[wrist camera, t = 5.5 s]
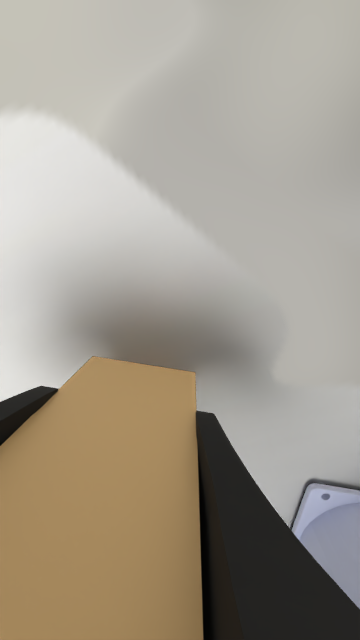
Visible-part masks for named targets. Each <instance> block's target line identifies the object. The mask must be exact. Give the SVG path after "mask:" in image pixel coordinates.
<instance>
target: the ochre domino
mask: <svg viewBox="0 0 360 640" xmlns="http://www.w3.org/2000/svg"><path fill="white" fill-rule="evenodd" d="M0 640H203V612H202V579H201V546H200V513H199V480H198V447H197V437H196V381H195V372H190V371H183V370H177V369H171V368H165V367H158V366H152V365H146V364H139V363H133V362H127V361H120V360H114V359H108V358H101V357H95V356H93V357H91V358H90V359H89V360H88V361H87V362H86V363H85V364H84V365H83V366H82V367H81V368H80V369H79V370H78V371H77V372H76V373H75V374H74V375H73V376H72V377H71V378H70V379H69V380H68V381H67V382H66V383H65V384H64V385H63V386H62V387H61V388H60V389H59V390H58V392H57V393H56V394H55V395H53V396H52V397H51V398H50V399H49V400H48V401H47V402H46V403H45V404H44V405H43V406H42V407H41V408H40V409H39V410H38V411H37V412H36V413H34V414H33V415H32V416H31V417H30V418H29V419H28V420H27V421H26V422H25V423H24V424H23V425H22V426H21V427H19V428H18V429H17V430H16V431H15V432H14V433H13V434H12V435H11V436H10V437H9V438H8V439H7V440H6V441H5V442H4V443H3V444H2V445H1V446H0Z"/></svg>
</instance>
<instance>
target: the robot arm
mask: <svg viewBox="0 0 360 640" xmlns="http://www.w3.org/2000/svg"><path fill="white" fill-rule="evenodd" d="M57 392H58V389H57V388H51V387H44V386H39V387H36V388H34V389H31V390H28V391H26V392H23V393H21V394H18V395H16V396H13V397H11V398H9V399H6V400H4V401H2V402H0V446H1V445H2V444H3V443H4V442H5V441H6V440H7V439H8V438H9V437H10V436H11V435H12V434H13V433H14V432H15V431H16V430H17V429H18V428H19V427H21V426H22V425H23V424H24V423H25V422H26V421H27V420H28V419H29V418H30V417H31V416H32V415H33V414H34V413H36V412H37V411H38V410H39V409H40V408H41V407H42V406H43V405H44V404H45V403H46V402H47V401H48V400H49V399H50V398H51V397H52V396H53V395H55V394H56V393H57ZM196 437H197V447H198V480H199V513H200V546H201V579H202V612H203V640H360V490H353V489H347V488H341V487H335V486H329V485H323V484H317V483H313V484H310V485H309V486H308V487H307V488H306V491H305V494H304V497H303V499H302V502H301V505H300V508H299V511H298V514H297V516H296V519H295V522H294V525H293V528H292V530H290V528H289V527H288V526H287V525H286V523H285V522H284V521H283V520H282V518H281V517H280V516H279V514H278V513H277V512H276V510H275V509H274V508H273V506H272V505H271V504H270V502H269V501H268V500H267V498H266V497H265V495H264V494H263V493H262V491H261V490H260V488H259V487H258V485H257V484H256V483H255V481H254V480H253V478H252V477H251V475H250V474H249V472H248V471H247V469H246V467H245V466H244V464H243V463H242V461H241V460H240V458H239V456H238V455H237V453H236V452H235V450H234V448H233V447H232V445H231V443H230V441H229V440H228V438H227V436H226V434H225V433H224V431H223V429H222V427H221V425H220V424H219V422H218V420H217V418H216V416H215V415H214V414H213V413H207V412H201V411H196Z"/></svg>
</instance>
